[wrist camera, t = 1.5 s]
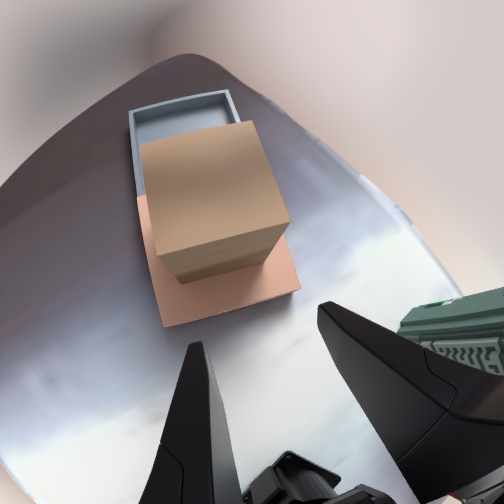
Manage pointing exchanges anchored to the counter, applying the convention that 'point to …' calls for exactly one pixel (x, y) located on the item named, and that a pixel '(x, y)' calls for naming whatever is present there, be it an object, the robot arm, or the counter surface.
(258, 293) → the thick peach slab
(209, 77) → the counter surface
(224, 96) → the tray
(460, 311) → the can
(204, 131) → the tan block
